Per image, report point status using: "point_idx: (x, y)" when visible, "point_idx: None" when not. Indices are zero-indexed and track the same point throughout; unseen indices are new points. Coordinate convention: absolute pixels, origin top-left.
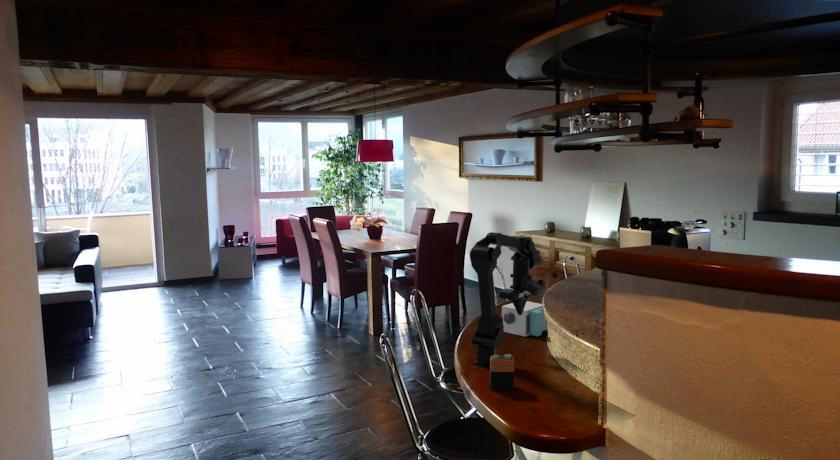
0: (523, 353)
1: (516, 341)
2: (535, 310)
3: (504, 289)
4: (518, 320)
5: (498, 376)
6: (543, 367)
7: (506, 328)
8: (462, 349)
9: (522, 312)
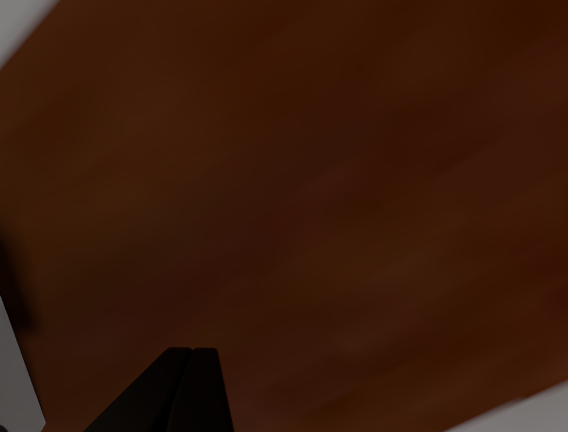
0: (372, 20)
1: (136, 249)
2: None
3: None
4: None
5: None
6: None
7: (20, 416)
8: (555, 387)
9: (148, 375)
